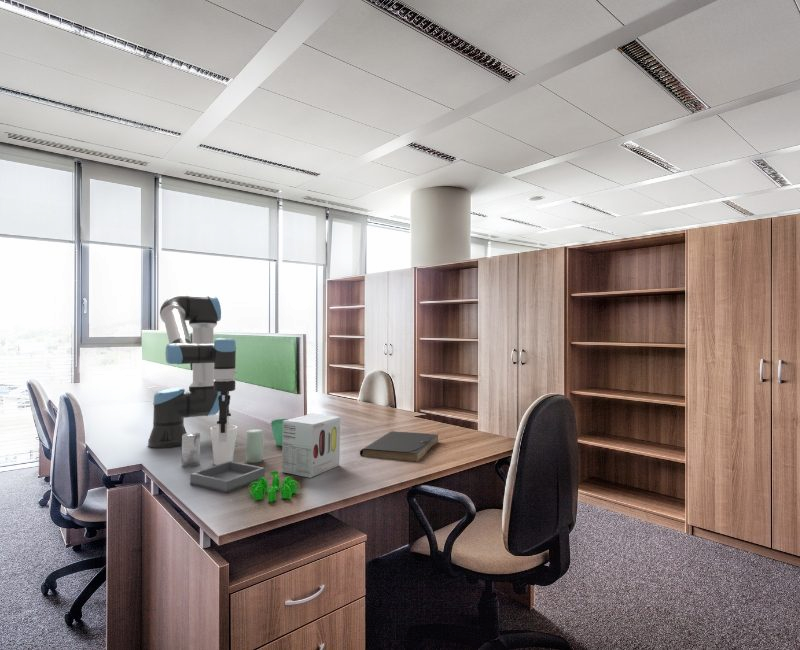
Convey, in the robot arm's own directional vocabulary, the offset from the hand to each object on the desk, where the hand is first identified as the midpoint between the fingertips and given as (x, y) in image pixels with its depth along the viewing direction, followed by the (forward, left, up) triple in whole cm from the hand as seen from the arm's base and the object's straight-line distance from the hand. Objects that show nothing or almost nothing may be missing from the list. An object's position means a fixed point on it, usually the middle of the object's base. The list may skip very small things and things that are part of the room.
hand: (223, 437), depth 169 cm
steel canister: (-8, -8, -9) cm, 15 cm away
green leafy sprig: (+39, -15, -10) cm, 43 cm away
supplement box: (+33, +10, -10) cm, 36 cm away
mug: (+3, +32, -9) cm, 34 cm away
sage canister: (+7, +8, -9) cm, 14 cm away
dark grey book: (+48, +51, -10) cm, 71 cm away
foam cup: (0, 0, -9) cm, 9 cm away
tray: (+18, -14, -9) cm, 24 cm away
